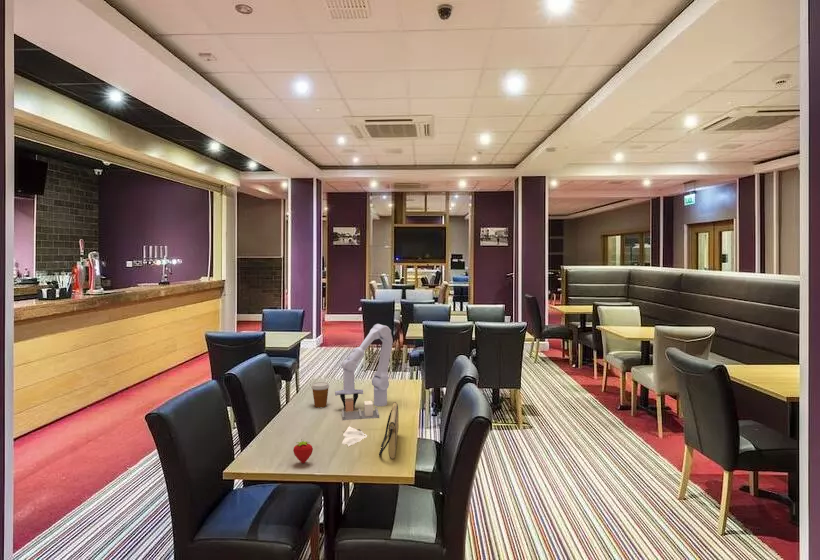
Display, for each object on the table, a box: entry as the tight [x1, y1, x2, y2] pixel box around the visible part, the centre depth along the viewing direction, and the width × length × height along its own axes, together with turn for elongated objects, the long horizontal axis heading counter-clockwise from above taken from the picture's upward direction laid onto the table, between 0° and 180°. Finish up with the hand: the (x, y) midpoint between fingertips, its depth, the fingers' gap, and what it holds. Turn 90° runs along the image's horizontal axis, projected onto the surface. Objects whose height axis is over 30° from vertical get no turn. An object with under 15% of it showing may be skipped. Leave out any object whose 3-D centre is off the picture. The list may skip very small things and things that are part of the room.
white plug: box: [363, 400, 374, 417], centre depth 233 cm, size 6×4×6 cm, turn 10°
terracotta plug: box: [344, 397, 354, 412], centre depth 241 cm, size 6×4×6 cm, turn 10°
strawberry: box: [293, 438, 314, 464], centre depth 179 cm, size 6×8×10 cm
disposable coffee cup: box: [311, 381, 330, 409], centre depth 250 cm, size 10×10×12 cm
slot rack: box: [341, 406, 380, 421], centre depth 232 cm, size 12×18×2 cm, turn 100°
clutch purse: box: [378, 401, 400, 460], centre depth 194 cm, size 30×7×15 cm, turn 179°
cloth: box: [341, 426, 368, 448], centre depth 207 cm, size 26×14×2 cm, turn 170°
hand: (349, 408), depth 241 cm, fingers closed on terracotta plug, 4 cm apart
